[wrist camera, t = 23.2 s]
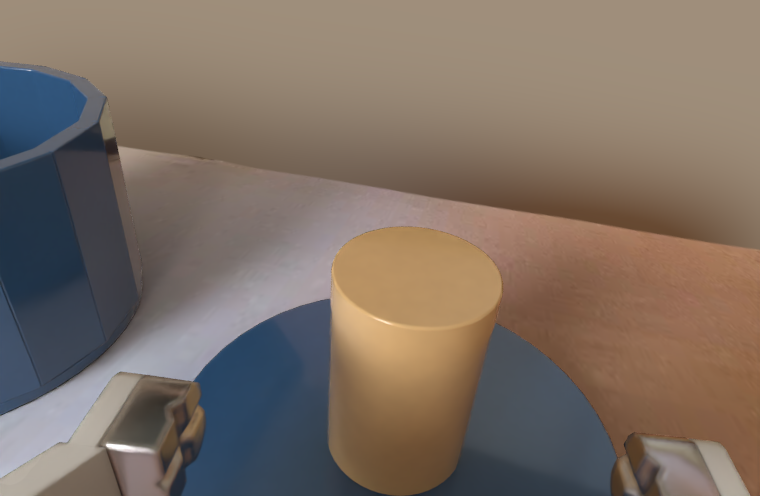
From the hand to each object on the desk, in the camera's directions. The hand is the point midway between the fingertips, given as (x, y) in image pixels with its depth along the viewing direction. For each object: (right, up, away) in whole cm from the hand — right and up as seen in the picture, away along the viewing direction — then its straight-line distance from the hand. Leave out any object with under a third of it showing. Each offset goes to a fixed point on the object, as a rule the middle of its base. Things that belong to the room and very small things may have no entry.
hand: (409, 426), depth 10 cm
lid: (0, -3, +7) cm, 8 cm away
